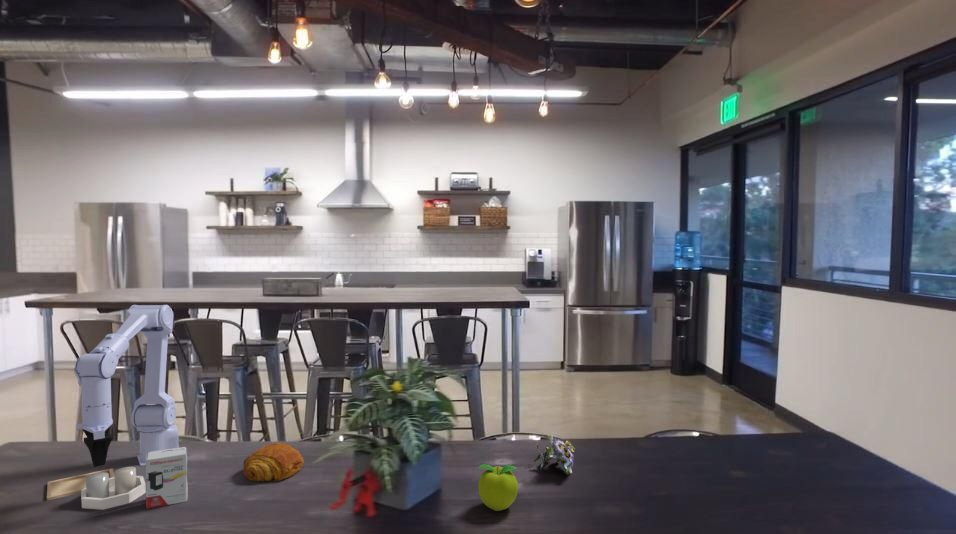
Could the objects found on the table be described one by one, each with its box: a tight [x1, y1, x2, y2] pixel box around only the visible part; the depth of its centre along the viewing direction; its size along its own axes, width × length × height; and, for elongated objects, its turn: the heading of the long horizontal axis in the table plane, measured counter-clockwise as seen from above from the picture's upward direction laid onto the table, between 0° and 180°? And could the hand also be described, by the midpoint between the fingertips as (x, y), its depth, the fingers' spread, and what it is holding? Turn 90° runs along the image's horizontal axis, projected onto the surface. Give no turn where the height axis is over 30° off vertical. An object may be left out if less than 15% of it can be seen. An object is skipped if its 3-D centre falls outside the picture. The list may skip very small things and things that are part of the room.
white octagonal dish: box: [80, 475, 146, 511], centre depth 130 cm, size 13×13×3 cm
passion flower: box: [533, 435, 577, 475], centre depth 147 cm, size 11×11×12 cm
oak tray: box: [46, 468, 115, 501], centre depth 136 cm, size 14×11×1 cm
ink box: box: [145, 446, 189, 510], centre depth 128 cm, size 9×5×12 cm, turn 117°
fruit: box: [477, 463, 518, 512], centre depth 126 cm, size 9×9×10 cm
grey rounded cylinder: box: [113, 466, 137, 495], centre depth 132 cm, size 4×4×5 cm
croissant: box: [243, 442, 305, 482], centre depth 145 cm, size 14×16×8 cm
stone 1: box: [86, 473, 109, 498], centre depth 128 cm, size 4×4×5 cm
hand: (98, 460), depth 128 cm, fingers open, 7 cm apart
